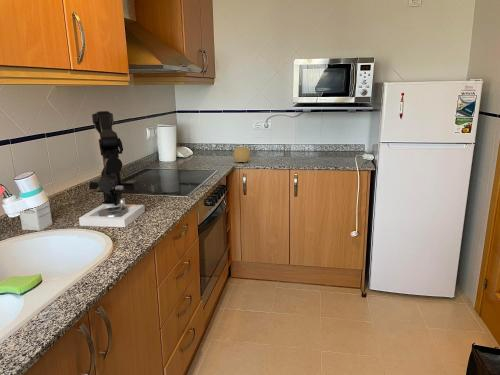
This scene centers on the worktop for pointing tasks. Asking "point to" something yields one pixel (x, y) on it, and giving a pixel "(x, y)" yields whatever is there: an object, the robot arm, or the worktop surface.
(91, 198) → the worktop surface
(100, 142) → the robot arm
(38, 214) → the supplement box
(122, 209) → the dial
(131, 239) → the worktop surface
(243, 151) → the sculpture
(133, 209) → the bezel
